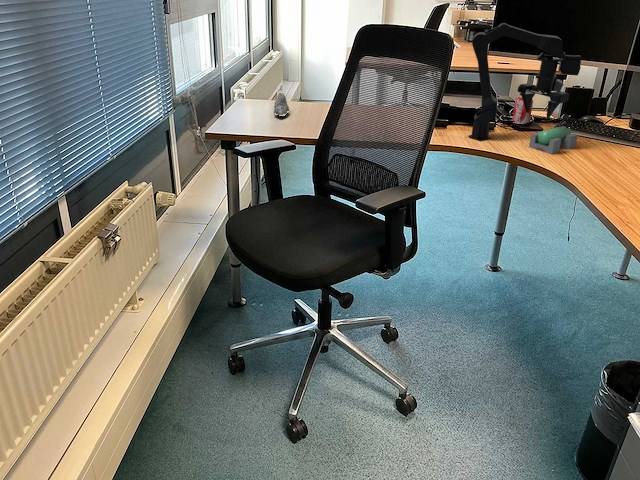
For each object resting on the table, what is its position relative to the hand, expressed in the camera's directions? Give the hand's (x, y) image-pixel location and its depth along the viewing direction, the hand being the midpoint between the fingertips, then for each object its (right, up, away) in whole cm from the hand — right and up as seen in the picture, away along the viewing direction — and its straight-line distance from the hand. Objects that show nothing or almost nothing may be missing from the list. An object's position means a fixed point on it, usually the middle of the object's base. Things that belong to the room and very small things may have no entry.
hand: (537, 115), depth 201 cm
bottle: (+7, -10, 0) cm, 12 cm away
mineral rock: (-101, +9, +38) cm, 108 cm away
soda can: (+4, +2, +27) cm, 28 cm away
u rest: (+5, -12, 0) cm, 13 cm away
